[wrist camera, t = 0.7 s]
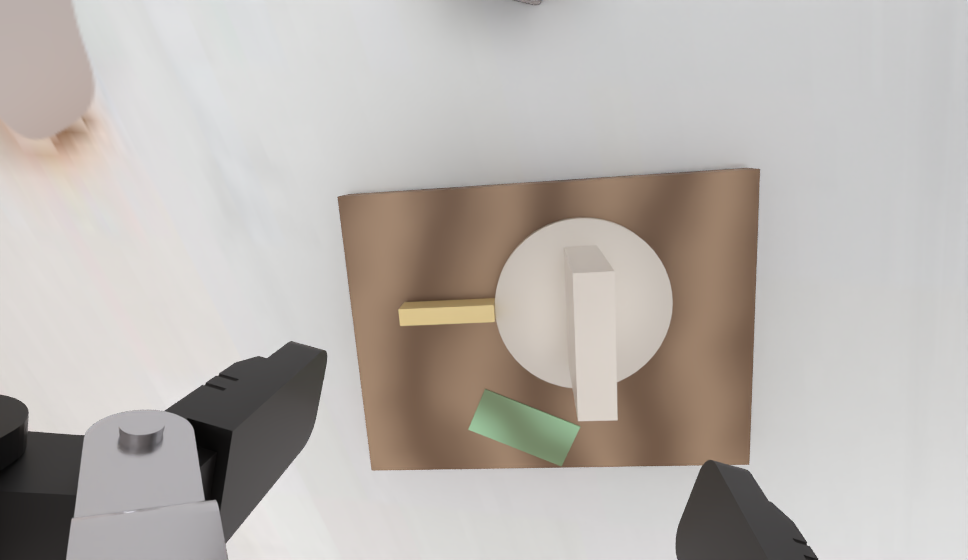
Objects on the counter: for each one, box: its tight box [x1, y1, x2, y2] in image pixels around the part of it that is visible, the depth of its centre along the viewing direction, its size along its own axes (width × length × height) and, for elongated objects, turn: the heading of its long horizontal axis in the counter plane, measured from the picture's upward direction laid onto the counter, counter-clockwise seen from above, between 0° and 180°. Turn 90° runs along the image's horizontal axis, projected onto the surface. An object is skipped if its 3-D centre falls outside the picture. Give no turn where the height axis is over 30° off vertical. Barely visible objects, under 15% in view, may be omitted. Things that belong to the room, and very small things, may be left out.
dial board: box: [338, 168, 760, 470], centre depth 35 cm, size 24×18×2 cm
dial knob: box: [398, 217, 673, 421], centre depth 29 cm, size 16×10×8 cm, turn 94°
